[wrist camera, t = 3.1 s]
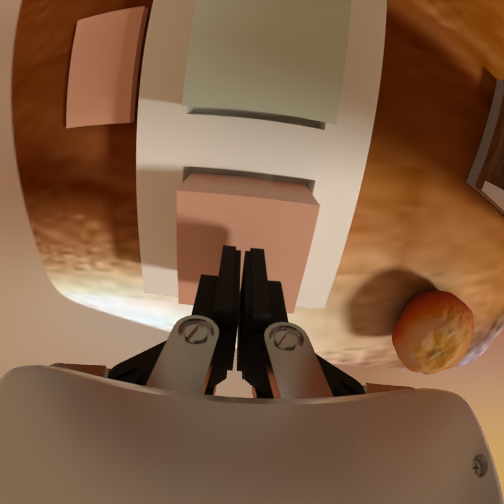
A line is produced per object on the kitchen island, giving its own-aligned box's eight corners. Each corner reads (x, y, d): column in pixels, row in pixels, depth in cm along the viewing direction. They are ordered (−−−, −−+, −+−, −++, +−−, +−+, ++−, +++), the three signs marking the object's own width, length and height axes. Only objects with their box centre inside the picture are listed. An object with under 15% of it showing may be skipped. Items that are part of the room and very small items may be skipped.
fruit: (443, 343, 24) (444, 395, 18) (387, 320, 27) (376, 371, 21) (479, 285, 20) (495, 333, 14) (417, 258, 23) (420, 301, 17)
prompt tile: (83, 22, 10) (78, 20, 10) (148, 9, 11) (144, 5, 10) (72, 126, 14) (66, 128, 14) (134, 122, 15) (129, 122, 14)
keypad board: (199, -89, 6) (193, -110, 3) (366, -66, 7) (382, -83, 4) (157, 266, 20) (144, 292, 17) (314, 281, 21) (324, 308, 18)
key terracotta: (191, 172, 14) (177, 190, 11) (305, 184, 14) (320, 205, 11) (189, 269, 17) (178, 303, 14) (286, 278, 17) (292, 313, 14)
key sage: (211, 2, 9) (201, -23, 6) (330, 18, 9) (351, -1, 7) (196, 106, 12) (181, 106, 9) (316, 120, 12) (336, 124, 10)
